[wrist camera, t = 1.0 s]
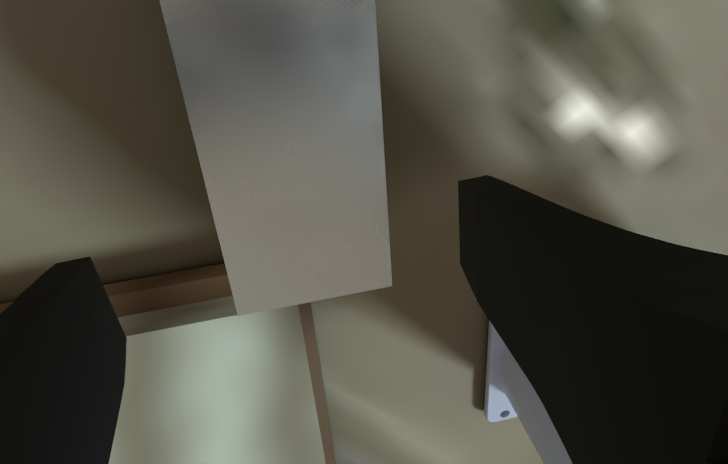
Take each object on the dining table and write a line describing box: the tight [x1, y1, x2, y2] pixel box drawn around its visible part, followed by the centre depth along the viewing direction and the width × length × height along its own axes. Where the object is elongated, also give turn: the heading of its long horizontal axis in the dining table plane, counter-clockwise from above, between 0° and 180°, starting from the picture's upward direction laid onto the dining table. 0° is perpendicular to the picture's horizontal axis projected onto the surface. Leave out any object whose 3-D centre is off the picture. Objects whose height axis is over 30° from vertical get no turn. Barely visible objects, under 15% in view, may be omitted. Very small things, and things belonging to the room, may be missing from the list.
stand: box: [0, 263, 336, 464], centre depth 24 cm, size 14×13×2 cm
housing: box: [159, 0, 392, 316], centre depth 17 cm, size 4×9×6 cm, turn 3°
